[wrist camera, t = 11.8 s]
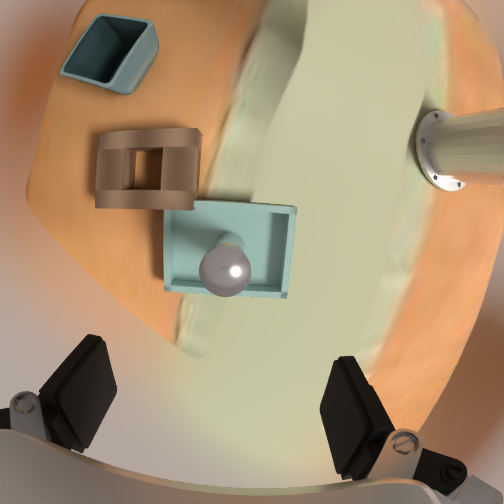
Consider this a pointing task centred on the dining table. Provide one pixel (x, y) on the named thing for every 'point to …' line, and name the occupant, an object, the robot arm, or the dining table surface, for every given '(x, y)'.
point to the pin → (226, 266)
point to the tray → (237, 221)
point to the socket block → (172, 176)
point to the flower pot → (113, 53)
